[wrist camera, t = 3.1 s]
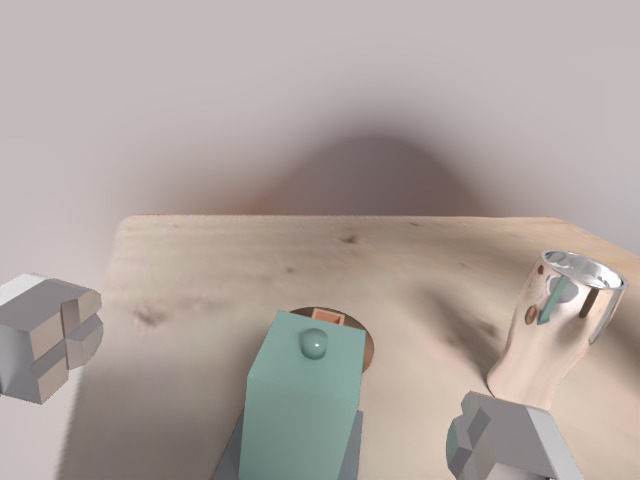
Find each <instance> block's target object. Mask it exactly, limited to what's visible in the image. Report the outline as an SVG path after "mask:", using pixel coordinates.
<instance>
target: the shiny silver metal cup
mask: <svg viewBox="0 0 640 480" xmlns="http://www.w3.org/2000/svg"><path fill="white" fill-rule="evenodd" d="M627 287H628V282H627V280H626V279H625V278H624V277H623V276H622V275H621V274H620V273H619V272H617V271H616V270H614V269H613V268H611V267H609V266H607V265H605V264H603V263H601V262H599V261H597V260H595V259H592V258H589V257H587V256H584V255H581V254H577V253H574V252H570V251H565V250H558V249H549V250H545V251H543V252H542V253H541V256H540V258H539V260H538V261H537V263H536V265H535V266H534V268H533V269H532V271H531V273H530V275H529V276H528V278H527V280H526V282H525V284H524V286H523V288H522V290H521V292H520V295H519V297H518V299H517V302H516V305H515V308H514V312H513V315H512V320H511V324H510V329H509V333H508V338H507V342H506V345H505V348H504V351H503V353H502V355H501V357H500V358H499V360H498V361H497V362H496V363H495V364H494V366H493V367H492V368H491V369H490V371H489V372H488V374H487V378H486V381H487V385H488V388H489V390H490V391H491V393H492V394H493V395H494V396H495V397H496V398H500V399H504V400H507V401H511V402H515V403H518V404H520V403H521V404H525V405H529V406H533V407H537V408H541V409H545V410H547V411H549V409H550V406H551V403H552V399H553V396H554V392H555V390H556V387H557V386H558V384H559V382H560V381H561V379H562V378H563V377H564V376H565V375H566V373H567V372H568V371H569V370H570V369H571V368H572V367H573V366H574V365H575V364H576V363H577V362H578V361H579V360H580V359H581V358H582V357H583V356H584V355H585V354H586V353H587V352H588V351H589V350H590V349H591V348H592V347H593V345H594V344H595V343H596V342H597V341H598V340H599V338H600V337H601V335H602V334H603V332H604V331H605V329H606V328H607V326H608V324H609V322H610V321H611V319H612V317H613V315H614V313H615V311H616V309H617V307H618V305H619V303H620V301H621V298H622V296H623V294H624V292H625V290H626V288H627Z"/></svg>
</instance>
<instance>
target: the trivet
mask: <svg viewBox="0 0 640 480" xmlns="http://www.w3.org/2000/svg"><path fill="white" fill-rule="evenodd" d="M314 308H317V309H321V310H326V311H330V312H334V313H338V314H343V315H345V317H344V323H343V325H344V326H348V327H352V328H356V329H361V330H365V331H366V336H365V346H364V355H363V365H362V373H363V372H364V371H365V370H366V369H367V368H368V367H369V365H370V363H371V361H372V357H373V353H374V344H373V340H372V338H371V336H370V334H369V332H368V331H367V330H366V329H365V327H364V326H363V325H362V324H361V323H359V322H358V321H357V320H355V319H354V318H352V317H351V316H349V315H347V314H345V313H342V312H340V311H337V310H333V309H329V308H322V307H307V308H301V309H297V310H294V311H292V312H289V313H293V314H297V315H301V316H306V317H310V318H312V314H313V311H314Z"/></svg>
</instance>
